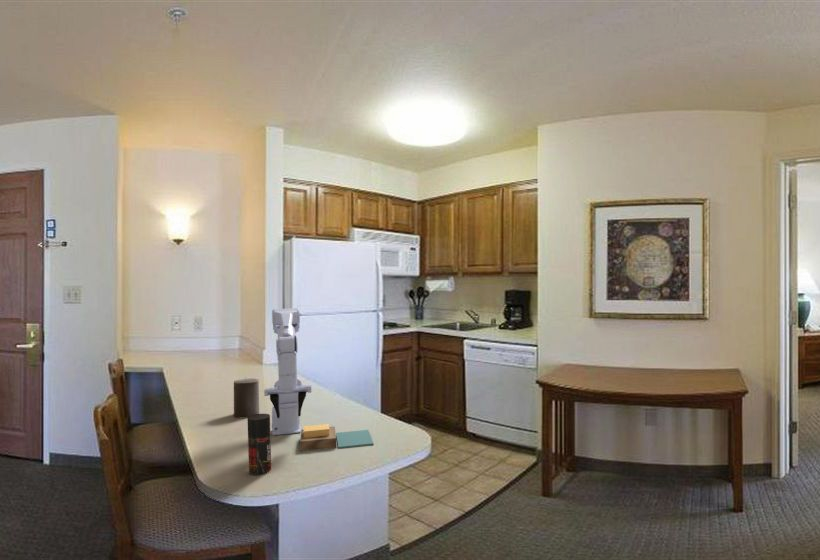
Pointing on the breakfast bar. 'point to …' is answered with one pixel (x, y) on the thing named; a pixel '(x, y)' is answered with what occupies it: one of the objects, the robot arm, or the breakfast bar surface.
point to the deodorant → (259, 444)
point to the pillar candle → (246, 397)
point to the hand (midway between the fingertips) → (289, 416)
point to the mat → (354, 439)
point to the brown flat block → (318, 441)
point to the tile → (316, 430)
